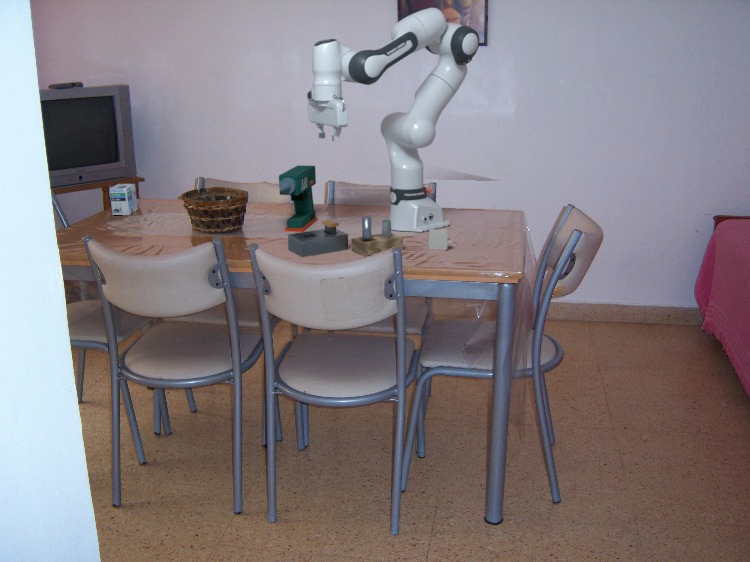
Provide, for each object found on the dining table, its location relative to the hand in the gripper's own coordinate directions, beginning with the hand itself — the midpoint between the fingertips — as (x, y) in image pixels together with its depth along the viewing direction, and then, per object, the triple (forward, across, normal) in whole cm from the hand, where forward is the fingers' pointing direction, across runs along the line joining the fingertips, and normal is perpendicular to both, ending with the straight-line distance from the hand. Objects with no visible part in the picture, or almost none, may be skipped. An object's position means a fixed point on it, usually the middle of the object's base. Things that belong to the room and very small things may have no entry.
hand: (328, 139), depth 246 cm
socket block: (+33, -6, +8) cm, 35 cm away
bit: (+33, -17, -4) cm, 37 cm away
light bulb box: (+33, +84, +45) cm, 101 cm away
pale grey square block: (+34, -28, -23) cm, 49 cm away
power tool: (+33, +22, +2) cm, 40 cm away
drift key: (+33, -6, +3) cm, 33 cm away
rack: (+33, -17, -7) cm, 38 cm away
